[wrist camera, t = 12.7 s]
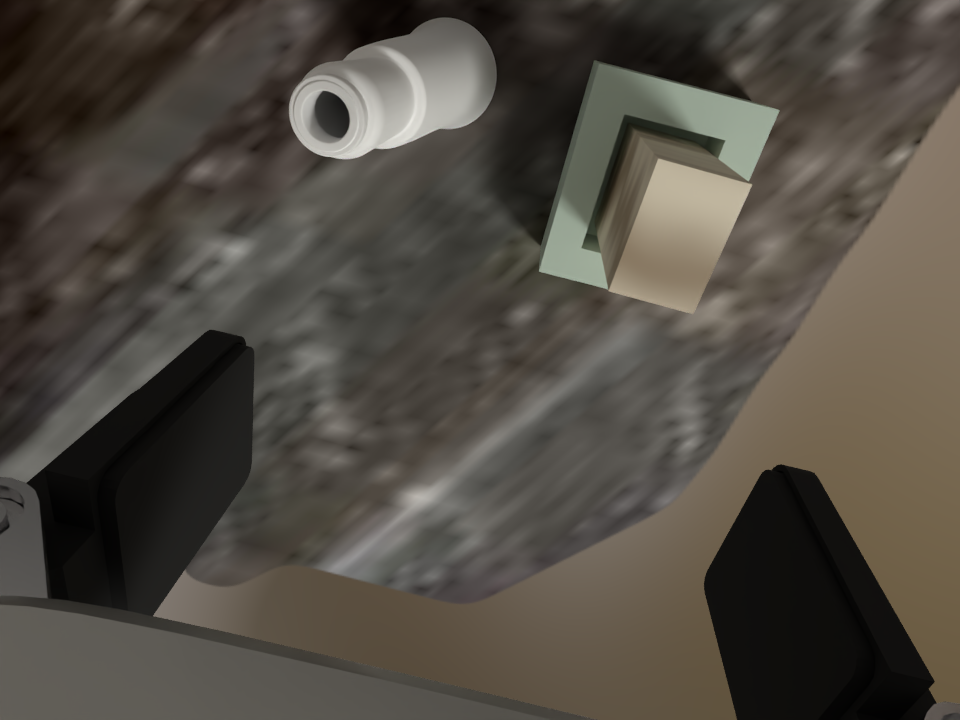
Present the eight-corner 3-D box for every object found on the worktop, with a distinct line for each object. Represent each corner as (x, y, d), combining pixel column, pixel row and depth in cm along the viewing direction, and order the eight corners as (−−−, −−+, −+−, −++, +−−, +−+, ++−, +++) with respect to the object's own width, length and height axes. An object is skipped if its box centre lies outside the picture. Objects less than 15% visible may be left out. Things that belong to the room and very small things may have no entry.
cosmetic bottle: (468, 146, 39) (380, 256, 19) (382, 97, 38) (199, 161, 18) (515, 51, 36) (466, 67, 16) (422, -4, 35) (257, -54, 16)
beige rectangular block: (628, 122, 36) (658, 158, 25) (694, 140, 36) (752, 184, 25) (594, 221, 38) (608, 291, 28) (655, 238, 38) (693, 314, 28)
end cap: (593, 60, 36) (599, 63, 31) (752, 101, 36) (779, 110, 31) (540, 246, 41) (538, 271, 37) (677, 281, 41) (692, 310, 37)
